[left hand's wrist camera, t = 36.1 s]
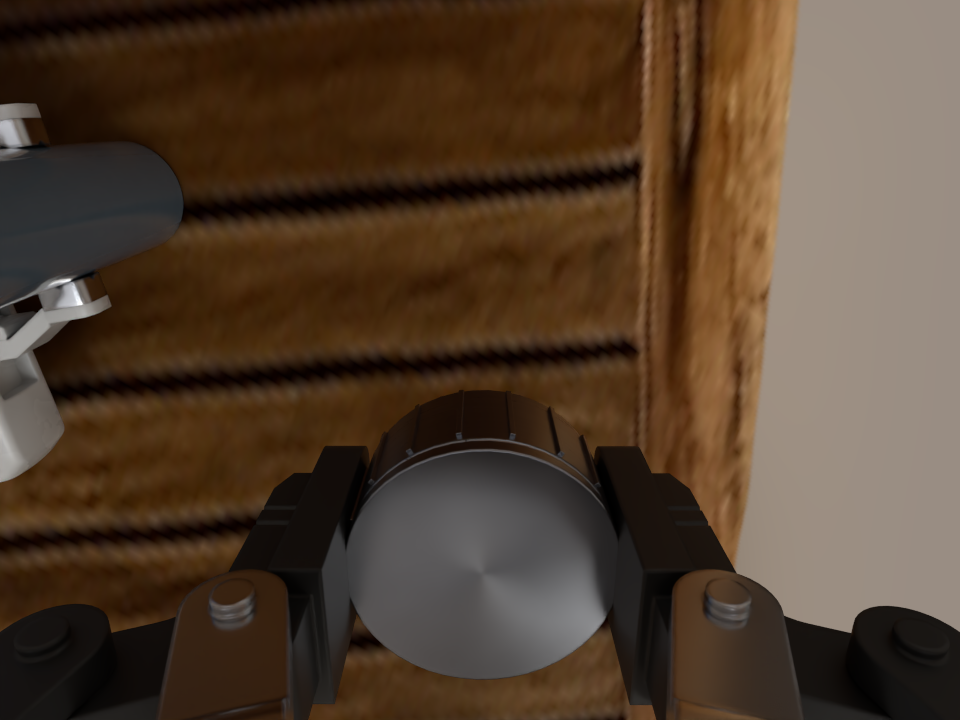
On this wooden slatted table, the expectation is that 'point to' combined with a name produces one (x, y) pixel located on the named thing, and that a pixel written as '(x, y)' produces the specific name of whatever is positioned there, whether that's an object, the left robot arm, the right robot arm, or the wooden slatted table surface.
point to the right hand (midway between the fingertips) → (67, 210)
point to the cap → (482, 538)
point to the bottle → (79, 211)
